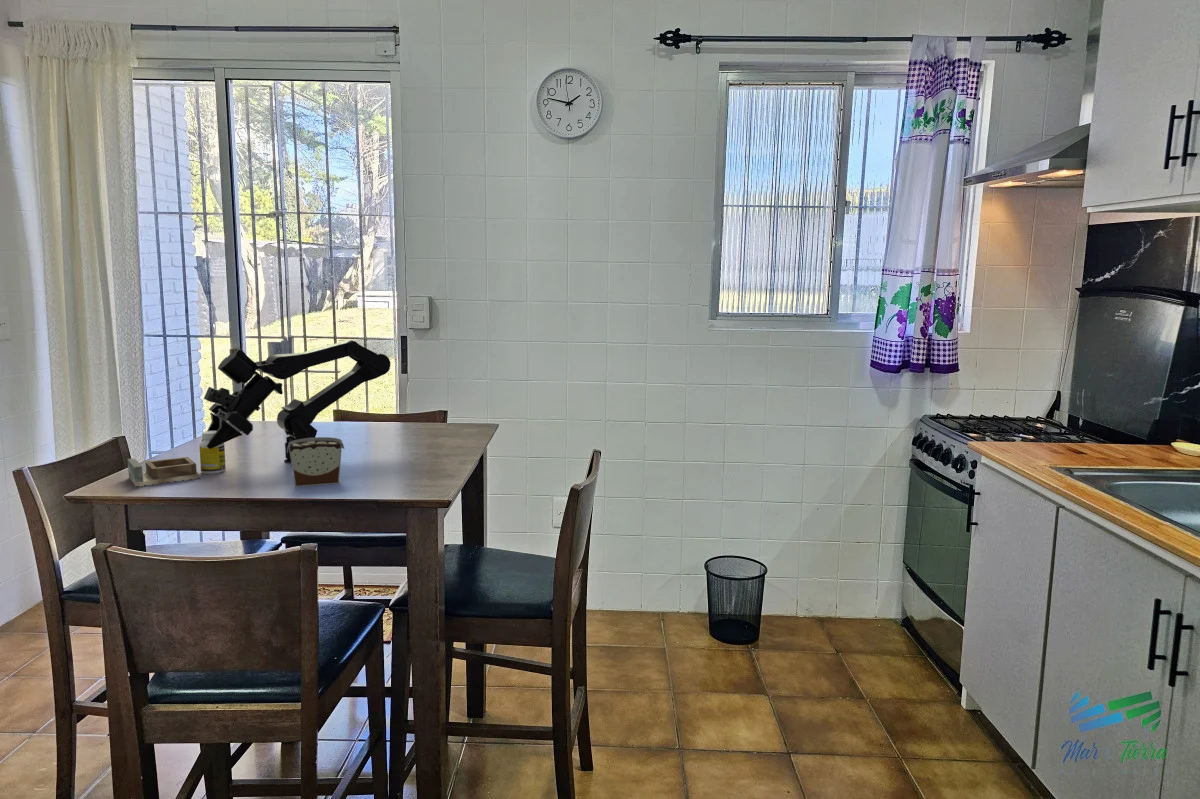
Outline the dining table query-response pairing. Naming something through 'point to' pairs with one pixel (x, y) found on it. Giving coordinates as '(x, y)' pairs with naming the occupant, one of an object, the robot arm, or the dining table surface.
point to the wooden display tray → (162, 471)
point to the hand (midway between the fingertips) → (205, 445)
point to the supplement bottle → (211, 455)
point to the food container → (315, 460)
